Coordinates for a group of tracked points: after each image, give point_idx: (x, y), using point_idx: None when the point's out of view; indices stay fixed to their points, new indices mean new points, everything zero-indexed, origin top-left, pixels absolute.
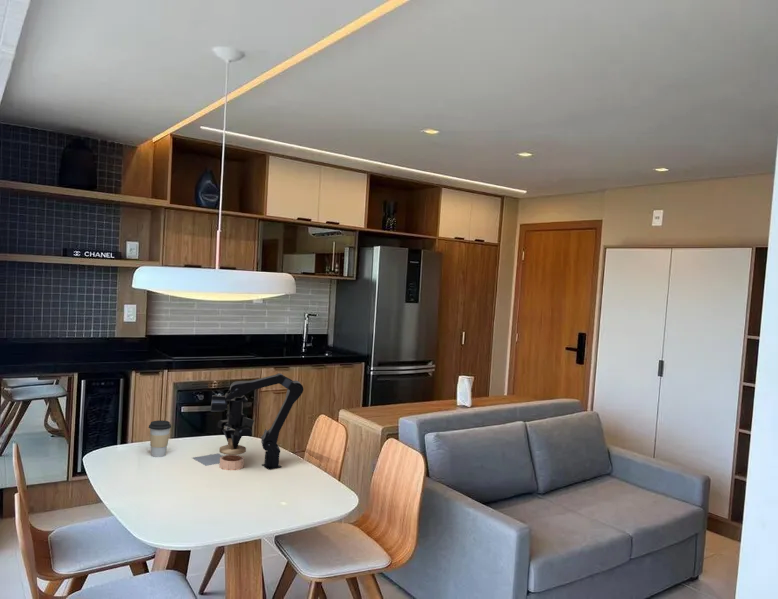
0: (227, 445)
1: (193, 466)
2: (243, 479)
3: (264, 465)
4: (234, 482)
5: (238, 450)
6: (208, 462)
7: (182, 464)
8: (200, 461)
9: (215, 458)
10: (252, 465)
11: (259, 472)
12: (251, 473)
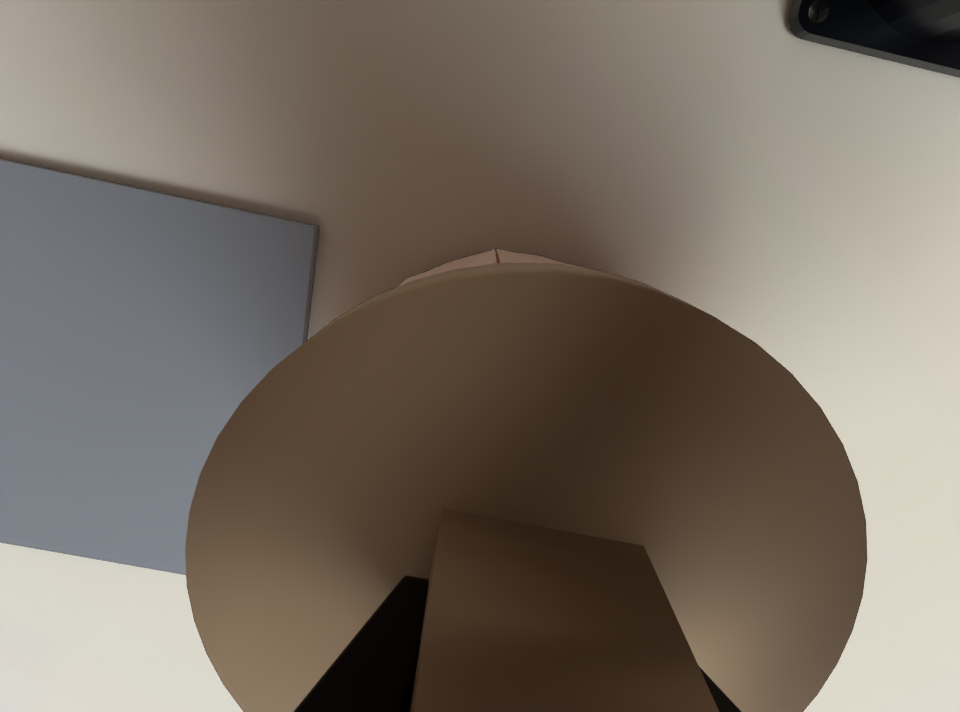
0: (229, 546)
1: (198, 653)
2: (902, 579)
3: (867, 17)
4: (875, 683)
5: (757, 630)
6: (186, 503)
7: (77, 683)
8: (99, 542)
9: (75, 337)
10: (651, 124)
11: (930, 284)
12: (860, 387)
